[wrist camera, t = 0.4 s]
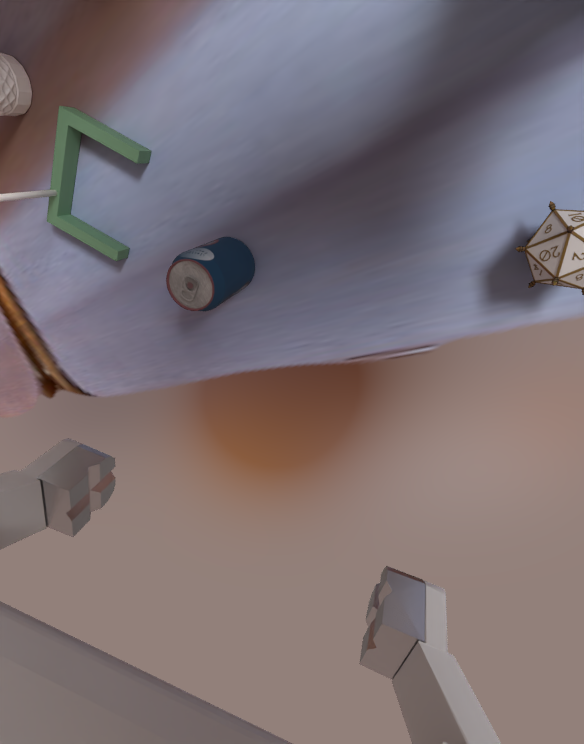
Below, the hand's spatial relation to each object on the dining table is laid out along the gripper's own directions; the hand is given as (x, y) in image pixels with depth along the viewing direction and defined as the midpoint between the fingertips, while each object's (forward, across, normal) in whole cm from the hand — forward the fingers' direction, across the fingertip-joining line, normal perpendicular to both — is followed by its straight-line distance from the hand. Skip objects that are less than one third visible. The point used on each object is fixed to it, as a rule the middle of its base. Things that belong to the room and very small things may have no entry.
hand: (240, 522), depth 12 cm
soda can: (+44, +19, +7) cm, 49 cm away
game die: (+44, -17, -5) cm, 48 cm away
